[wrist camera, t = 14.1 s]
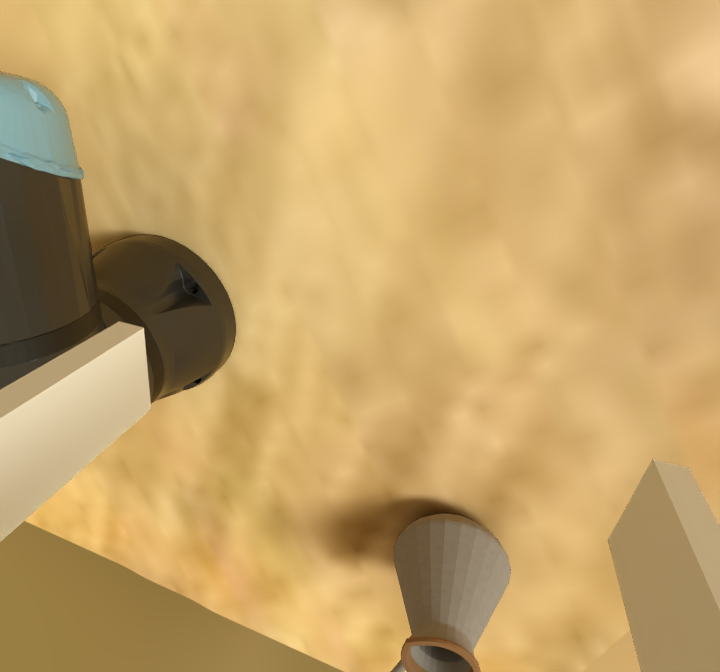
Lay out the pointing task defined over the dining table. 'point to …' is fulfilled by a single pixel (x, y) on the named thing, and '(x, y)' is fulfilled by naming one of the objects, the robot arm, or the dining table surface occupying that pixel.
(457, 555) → the coffee pot
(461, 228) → the dining table surface
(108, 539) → the dining table surface
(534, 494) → the dining table surface
